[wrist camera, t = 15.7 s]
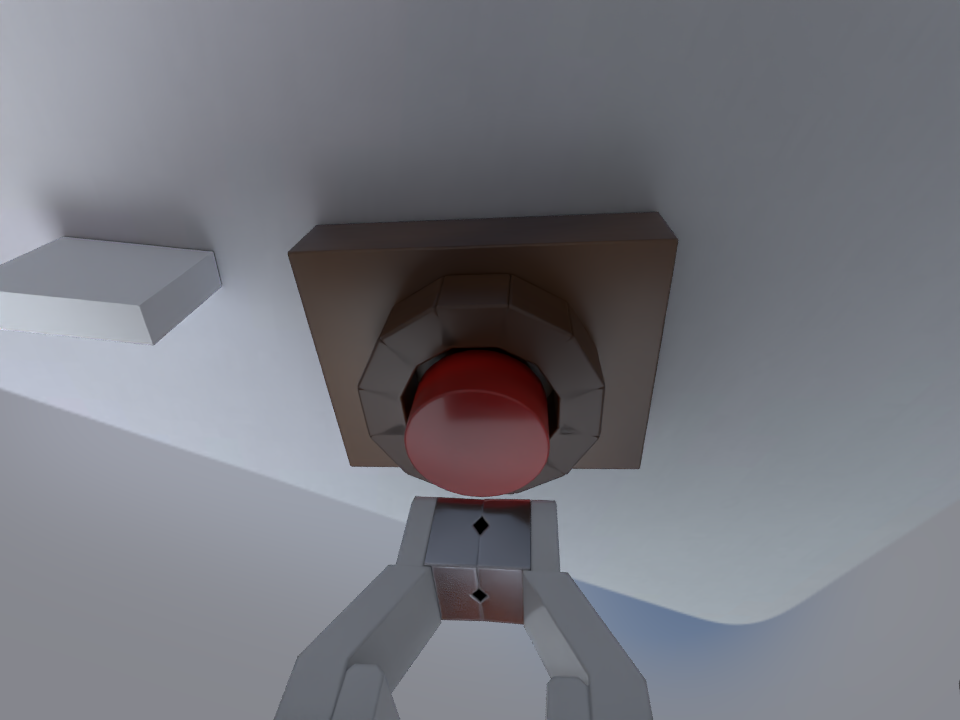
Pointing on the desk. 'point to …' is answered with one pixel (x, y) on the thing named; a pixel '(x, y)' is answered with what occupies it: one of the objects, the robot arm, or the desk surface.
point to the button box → (492, 322)
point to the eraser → (104, 289)
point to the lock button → (478, 424)
